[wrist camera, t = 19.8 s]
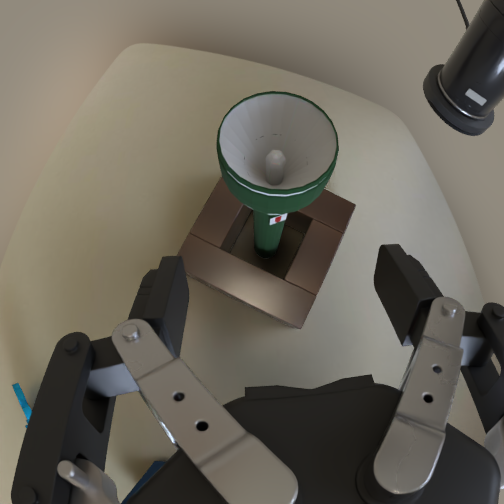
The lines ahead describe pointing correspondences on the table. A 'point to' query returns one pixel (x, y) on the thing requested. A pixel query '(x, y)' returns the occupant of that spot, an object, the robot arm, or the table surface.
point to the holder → (254, 278)
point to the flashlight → (276, 159)
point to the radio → (145, 478)
